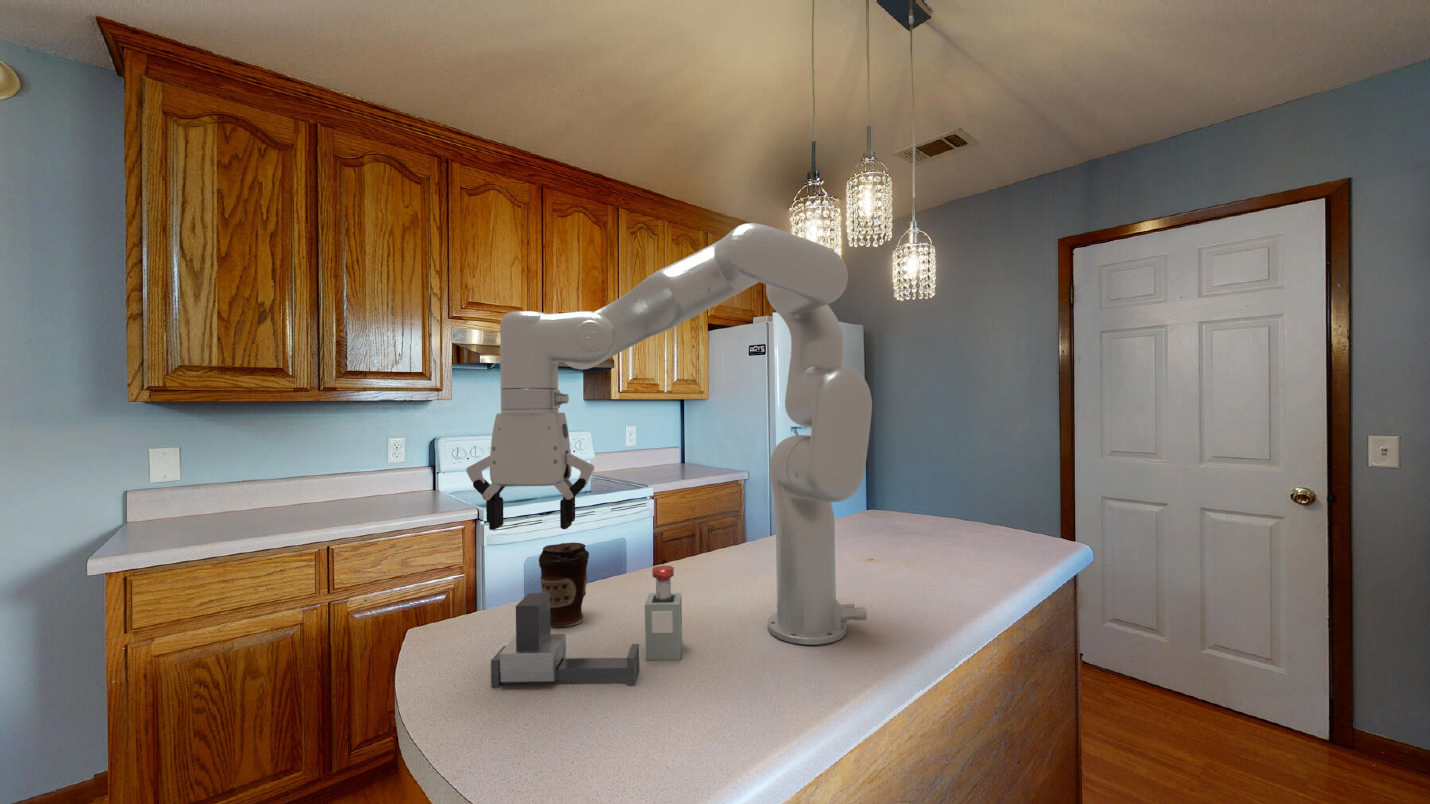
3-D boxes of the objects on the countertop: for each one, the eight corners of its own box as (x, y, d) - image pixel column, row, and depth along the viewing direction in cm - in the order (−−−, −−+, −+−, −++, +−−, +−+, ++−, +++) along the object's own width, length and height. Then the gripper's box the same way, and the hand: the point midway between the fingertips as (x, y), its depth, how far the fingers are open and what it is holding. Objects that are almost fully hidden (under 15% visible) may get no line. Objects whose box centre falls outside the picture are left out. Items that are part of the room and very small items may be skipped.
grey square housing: (682, 644, 85) (681, 592, 85) (679, 660, 80) (679, 604, 80) (649, 645, 85) (649, 593, 85) (645, 660, 80) (644, 605, 80)
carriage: (566, 660, 78) (565, 591, 78) (553, 682, 72) (552, 606, 72) (516, 661, 78) (515, 592, 78) (500, 682, 72) (499, 607, 72)
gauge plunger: (675, 611, 84) (674, 565, 84) (673, 619, 81) (672, 571, 81) (654, 611, 84) (653, 565, 84) (651, 619, 81) (651, 571, 81)
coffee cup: (575, 633, 90) (574, 553, 90) (529, 630, 92) (527, 552, 92) (597, 613, 98) (596, 540, 99) (554, 610, 100) (553, 539, 100)
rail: (639, 669, 77) (639, 643, 77) (634, 685, 73) (634, 658, 73) (504, 671, 77) (503, 645, 77) (491, 687, 73) (490, 660, 73)
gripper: (598, 402, 79) (600, 521, 79) (479, 403, 80) (480, 522, 79) (585, 401, 72) (587, 533, 72) (454, 403, 72) (455, 534, 72)
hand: (531, 527), depth 76 cm, fingers open, 9 cm apart
